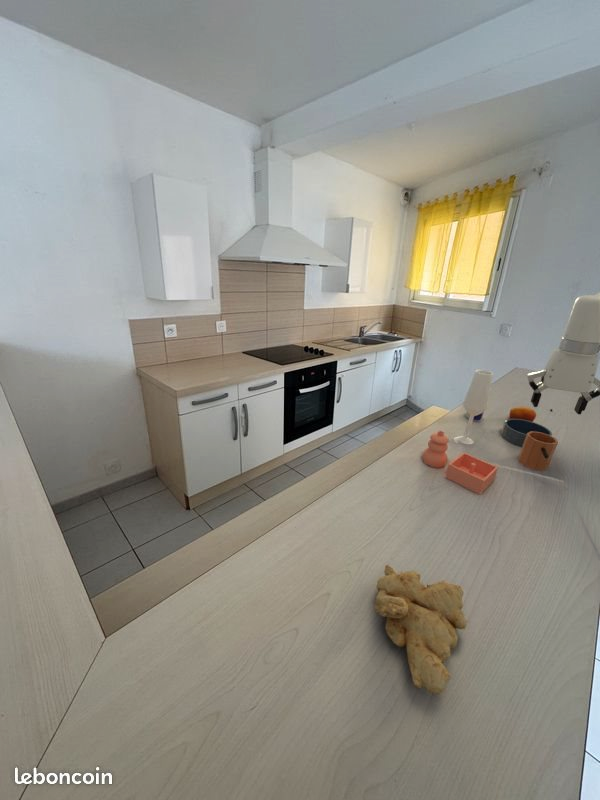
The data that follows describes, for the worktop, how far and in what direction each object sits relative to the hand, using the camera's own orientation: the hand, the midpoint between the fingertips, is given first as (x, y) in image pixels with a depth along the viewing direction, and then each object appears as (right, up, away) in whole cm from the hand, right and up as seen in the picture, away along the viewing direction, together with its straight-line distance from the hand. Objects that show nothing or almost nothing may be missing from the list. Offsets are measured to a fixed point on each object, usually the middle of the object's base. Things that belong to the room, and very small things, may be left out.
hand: (555, 408), depth 88 cm
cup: (-2, -18, +5) cm, 18 cm away
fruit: (+13, -7, +33) cm, 36 cm away
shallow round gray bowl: (+5, -11, +21) cm, 24 cm away
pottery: (-27, -18, +2) cm, 32 cm away
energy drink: (-4, -5, +34) cm, 35 cm away
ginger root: (-52, -33, -37) cm, 72 cm away
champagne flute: (-16, -12, +18) cm, 26 cm away
